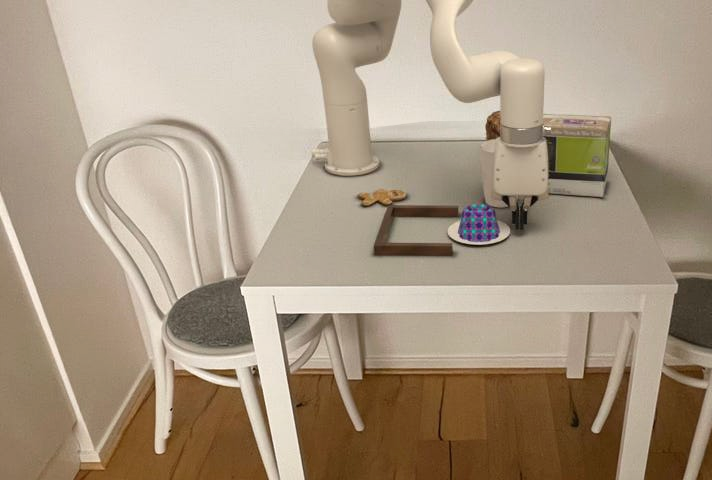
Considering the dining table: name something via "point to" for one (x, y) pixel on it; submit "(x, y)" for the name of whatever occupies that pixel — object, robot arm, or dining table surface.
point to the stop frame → (413, 248)
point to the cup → (489, 172)
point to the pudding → (478, 226)
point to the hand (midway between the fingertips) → (519, 227)
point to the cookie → (382, 196)
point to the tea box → (577, 154)
